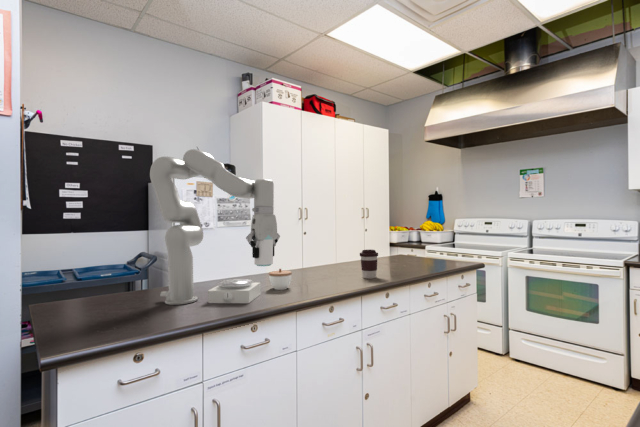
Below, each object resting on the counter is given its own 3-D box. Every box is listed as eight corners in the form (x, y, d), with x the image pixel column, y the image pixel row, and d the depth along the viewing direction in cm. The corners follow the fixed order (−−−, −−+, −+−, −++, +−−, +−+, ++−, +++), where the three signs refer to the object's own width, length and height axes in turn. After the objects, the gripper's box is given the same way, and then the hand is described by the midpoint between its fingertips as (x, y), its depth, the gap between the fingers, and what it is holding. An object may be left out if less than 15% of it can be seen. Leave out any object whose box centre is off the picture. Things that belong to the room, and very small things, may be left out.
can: (273, 266, 134) (273, 234, 134) (254, 266, 132) (254, 235, 132) (272, 263, 141) (272, 233, 141) (254, 264, 139) (254, 233, 139)
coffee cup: (380, 279, 185) (379, 250, 186) (361, 279, 186) (360, 251, 186) (377, 275, 195) (376, 249, 195) (359, 276, 195) (358, 249, 196)
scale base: (207, 303, 140) (207, 291, 140) (223, 293, 158) (223, 282, 158) (248, 303, 139) (248, 291, 139) (260, 293, 156) (260, 282, 156)
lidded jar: (265, 290, 164) (264, 270, 164) (276, 285, 174) (275, 266, 174) (285, 291, 160) (284, 270, 160) (295, 286, 170) (295, 267, 170)
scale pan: (212, 287, 142) (212, 285, 142) (225, 281, 156) (225, 278, 156) (246, 287, 141) (246, 285, 141) (256, 281, 155) (256, 278, 155)
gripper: (251, 211, 127) (251, 260, 127) (286, 211, 140) (286, 255, 140) (239, 211, 132) (239, 258, 132) (274, 211, 145) (274, 254, 145)
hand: (263, 256), depth 136 cm, fingers closed on can, 7 cm apart
